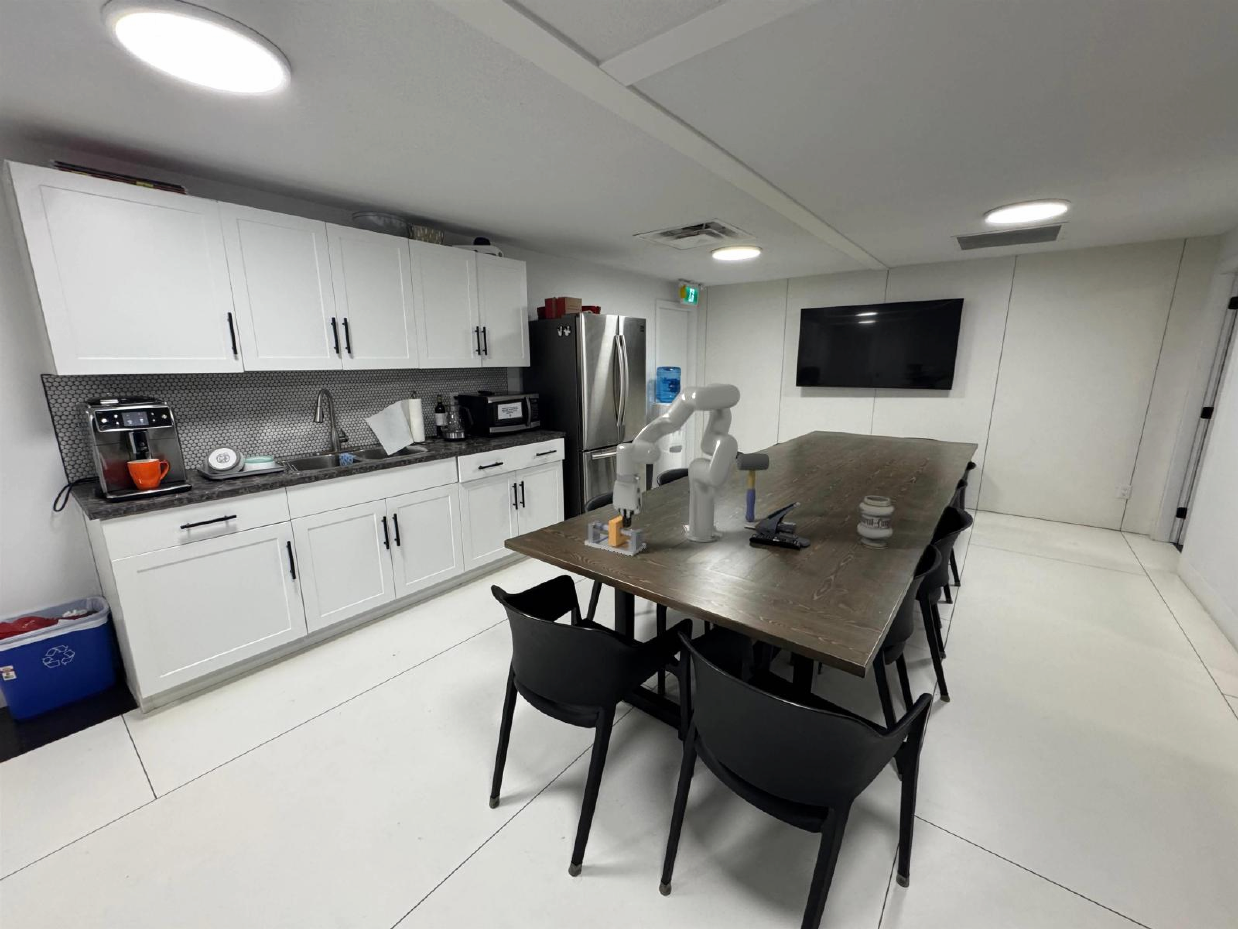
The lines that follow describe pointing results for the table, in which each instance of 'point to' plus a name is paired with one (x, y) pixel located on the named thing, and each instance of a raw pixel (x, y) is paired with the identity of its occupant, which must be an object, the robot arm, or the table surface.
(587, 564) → the table surface
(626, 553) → the pipe stand
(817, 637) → the table surface
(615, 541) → the collar
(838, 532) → the table surface
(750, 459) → the rubber mallet
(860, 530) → the apothecary jar
